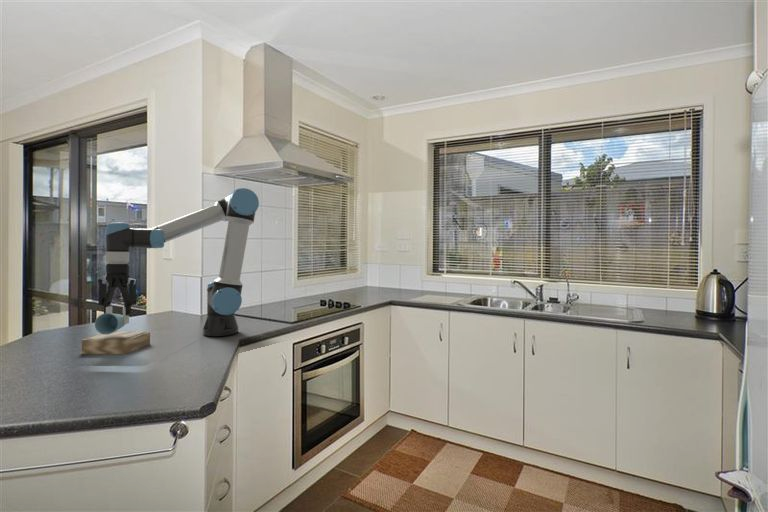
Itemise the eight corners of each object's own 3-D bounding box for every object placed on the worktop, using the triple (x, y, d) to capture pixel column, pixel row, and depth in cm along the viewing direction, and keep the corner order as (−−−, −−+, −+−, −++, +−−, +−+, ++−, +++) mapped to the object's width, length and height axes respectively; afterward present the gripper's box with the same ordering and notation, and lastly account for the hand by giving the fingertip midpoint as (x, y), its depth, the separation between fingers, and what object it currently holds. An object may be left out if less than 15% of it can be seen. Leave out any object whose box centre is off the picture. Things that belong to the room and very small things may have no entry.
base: (150, 344, 169) (150, 331, 169) (125, 354, 153) (125, 339, 153) (110, 343, 169) (110, 330, 169) (81, 353, 153) (81, 339, 153)
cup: (131, 327, 162) (120, 330, 152) (110, 334, 161) (97, 337, 150) (126, 309, 162) (115, 310, 152) (104, 315, 161) (92, 317, 150)
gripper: (147, 263, 164) (147, 322, 165) (99, 262, 164) (99, 321, 164) (136, 263, 157) (136, 325, 157) (86, 263, 157) (86, 325, 157)
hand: (117, 323), depth 161 cm, fingers closed on cup, 6 cm apart
